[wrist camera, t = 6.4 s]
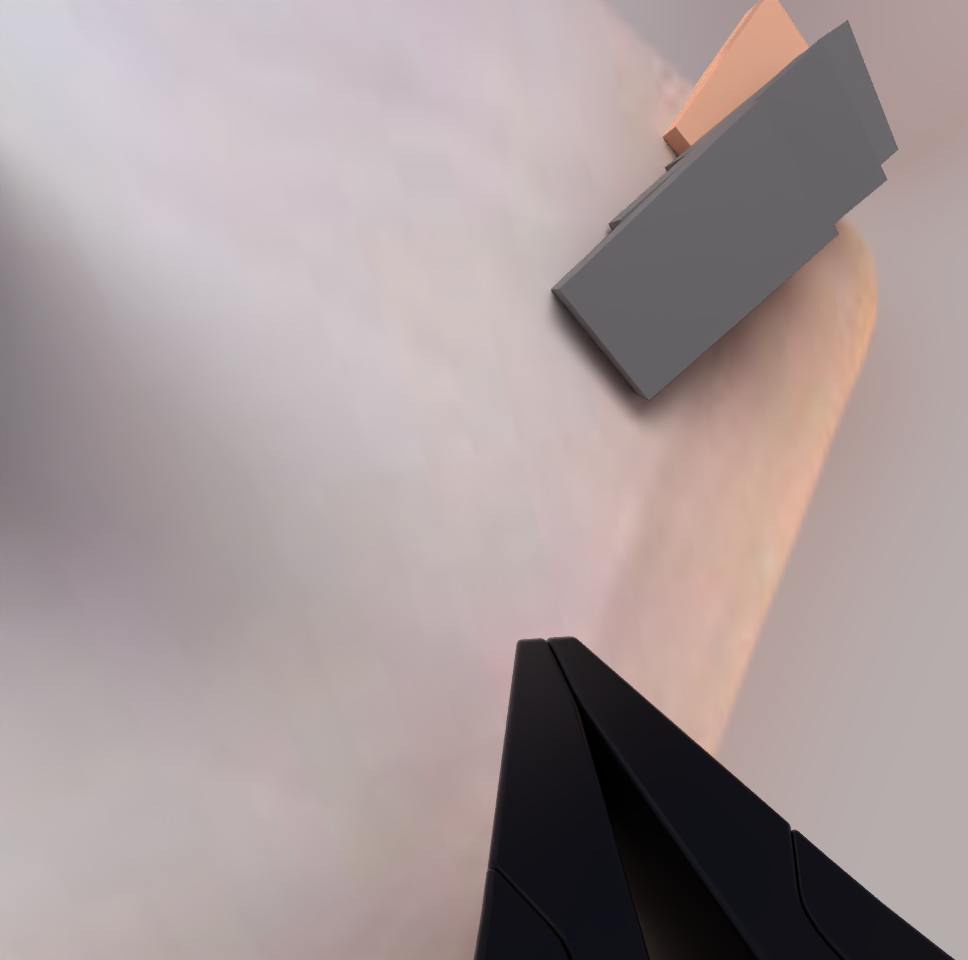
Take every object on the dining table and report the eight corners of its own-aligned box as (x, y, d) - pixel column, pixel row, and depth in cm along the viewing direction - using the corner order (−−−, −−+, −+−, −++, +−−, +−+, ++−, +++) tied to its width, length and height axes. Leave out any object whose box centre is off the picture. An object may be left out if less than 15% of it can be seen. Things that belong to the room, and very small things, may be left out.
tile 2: (697, 336, 20) (887, 179, 19) (619, 219, 18) (822, 40, 17) (682, 334, 21) (860, 186, 20) (608, 223, 19) (797, 55, 18)
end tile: (755, 227, 21) (838, 92, 23) (675, 126, 20) (770, -11, 21) (731, 239, 22) (812, 110, 24) (653, 144, 21) (745, 13, 23)
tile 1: (649, 400, 19) (838, 233, 18) (559, 289, 18) (760, 98, 16) (636, 394, 20) (814, 237, 19) (551, 289, 19) (738, 110, 17)
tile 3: (749, 278, 20) (898, 149, 21) (684, 155, 19) (847, 19, 19) (727, 283, 22) (869, 160, 22) (664, 167, 20) (819, 39, 21)
